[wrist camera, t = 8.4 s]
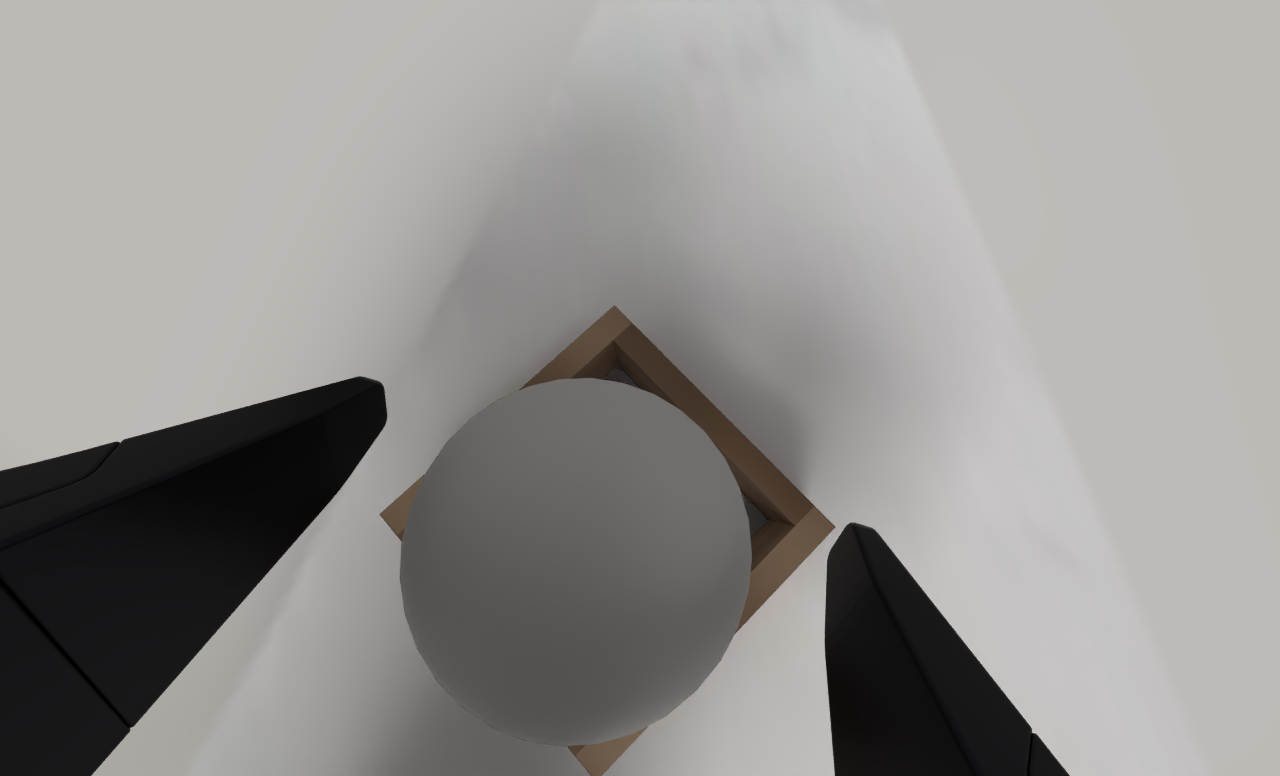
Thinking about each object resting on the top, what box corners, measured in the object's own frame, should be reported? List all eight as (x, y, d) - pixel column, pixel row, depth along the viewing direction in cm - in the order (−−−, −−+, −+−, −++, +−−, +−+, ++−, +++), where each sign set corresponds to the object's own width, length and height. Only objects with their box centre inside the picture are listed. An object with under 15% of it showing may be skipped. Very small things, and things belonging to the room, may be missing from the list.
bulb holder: (605, 727, 16) (595, 781, 13) (425, 510, 17) (379, 514, 14) (802, 521, 17) (835, 527, 14) (619, 335, 18) (614, 305, 15)
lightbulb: (718, 573, 17) (885, 732, 6) (544, 640, 16) (376, 949, 5) (656, 405, 18) (702, 278, 7) (492, 461, 17) (266, 419, 6)
